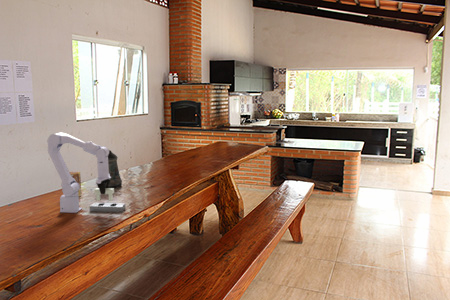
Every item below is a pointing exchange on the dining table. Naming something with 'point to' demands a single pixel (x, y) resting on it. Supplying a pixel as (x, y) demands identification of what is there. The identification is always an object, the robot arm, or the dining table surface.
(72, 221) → the dining table surface
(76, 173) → the candy box
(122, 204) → the grey block with holes
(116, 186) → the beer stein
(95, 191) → the notched cream block
